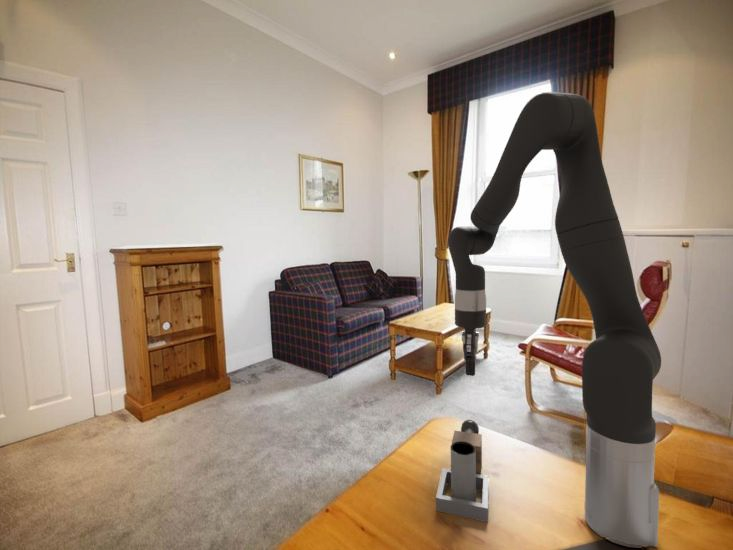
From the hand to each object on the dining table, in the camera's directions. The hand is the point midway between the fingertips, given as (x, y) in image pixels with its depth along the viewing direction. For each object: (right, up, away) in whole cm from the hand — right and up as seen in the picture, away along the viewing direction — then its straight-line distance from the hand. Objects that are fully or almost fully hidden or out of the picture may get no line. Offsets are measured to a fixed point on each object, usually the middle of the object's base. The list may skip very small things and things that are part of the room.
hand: (470, 374), depth 89 cm
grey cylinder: (-8, -18, -22) cm, 29 cm away
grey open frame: (-8, -18, -22) cm, 29 cm away
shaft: (-3, -14, -8) cm, 17 cm away
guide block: (-4, -17, -13) cm, 21 cm away
